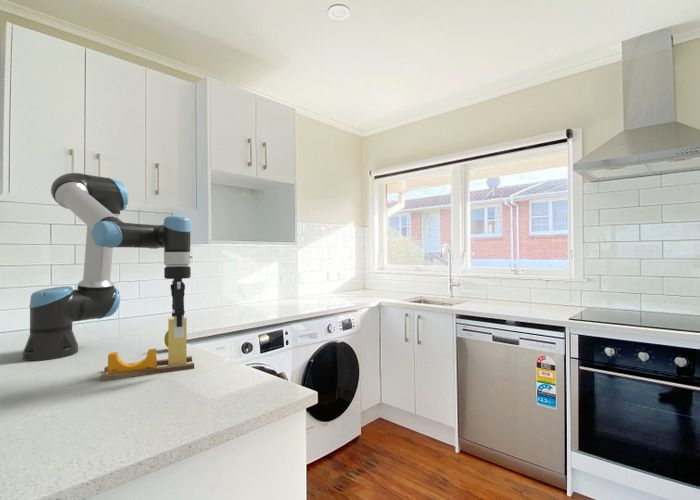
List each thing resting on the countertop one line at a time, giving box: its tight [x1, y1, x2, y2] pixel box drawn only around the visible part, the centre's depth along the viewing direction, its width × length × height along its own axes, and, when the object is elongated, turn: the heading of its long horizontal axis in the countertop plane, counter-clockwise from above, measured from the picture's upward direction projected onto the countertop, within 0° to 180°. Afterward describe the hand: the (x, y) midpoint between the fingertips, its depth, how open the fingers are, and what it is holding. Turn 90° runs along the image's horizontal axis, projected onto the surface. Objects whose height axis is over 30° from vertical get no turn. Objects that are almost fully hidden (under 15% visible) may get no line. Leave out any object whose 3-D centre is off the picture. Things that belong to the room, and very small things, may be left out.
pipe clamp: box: [107, 348, 158, 374], centre depth 109 cm, size 12×4×6 cm, turn 113°
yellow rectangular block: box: [167, 316, 188, 366], centre depth 115 cm, size 4×5×15 cm
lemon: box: [164, 330, 168, 348], centre depth 135 cm, size 6×6×8 cm
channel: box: [99, 355, 195, 382], centre depth 112 cm, size 10×24×1 cm, turn 118°
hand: (178, 333), depth 115 cm, fingers open, 13 cm apart
